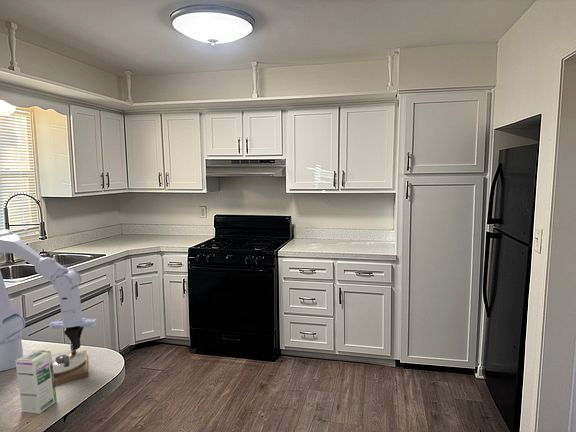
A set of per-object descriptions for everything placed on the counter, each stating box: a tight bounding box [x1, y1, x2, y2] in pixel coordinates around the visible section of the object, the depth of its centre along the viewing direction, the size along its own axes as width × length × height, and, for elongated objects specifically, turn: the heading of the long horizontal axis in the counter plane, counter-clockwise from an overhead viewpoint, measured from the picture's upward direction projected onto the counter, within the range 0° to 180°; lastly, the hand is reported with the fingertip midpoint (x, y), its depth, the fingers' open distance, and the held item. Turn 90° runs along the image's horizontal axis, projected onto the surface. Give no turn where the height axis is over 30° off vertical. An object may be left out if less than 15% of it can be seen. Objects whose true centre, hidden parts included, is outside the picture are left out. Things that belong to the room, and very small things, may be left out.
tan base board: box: [54, 349, 89, 386], centre depth 121 cm, size 17×14×2 cm
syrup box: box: [15, 349, 58, 415], centre depth 101 cm, size 6×6×14 cm
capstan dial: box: [51, 343, 85, 376], centre depth 121 cm, size 13×13×4 cm
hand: (76, 348), depth 126 cm, fingers closed, pressing on capstan dial
